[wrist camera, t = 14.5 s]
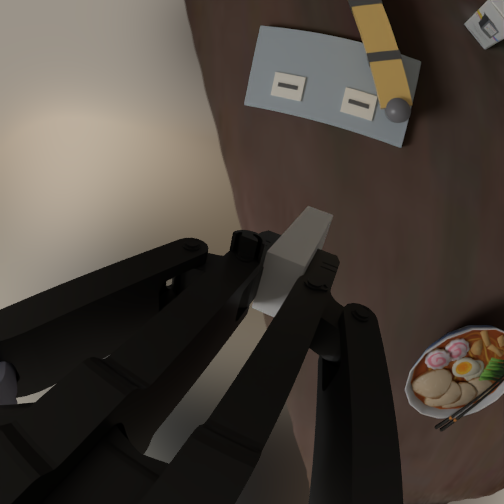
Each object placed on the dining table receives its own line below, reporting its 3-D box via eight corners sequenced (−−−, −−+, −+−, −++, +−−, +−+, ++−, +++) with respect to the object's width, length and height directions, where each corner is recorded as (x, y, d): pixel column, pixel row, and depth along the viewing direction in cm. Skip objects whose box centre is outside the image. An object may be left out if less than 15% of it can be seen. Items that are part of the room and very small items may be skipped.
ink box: (493, 4, 19) (520, -23, 9) (515, 31, 20) (548, 11, 10) (461, 24, 24) (485, -3, 14) (484, 52, 24) (516, 33, 14)
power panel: (419, 63, 30) (421, 60, 28) (399, 147, 36) (401, 148, 34) (264, 28, 35) (259, 25, 34) (248, 105, 42) (243, 104, 40)
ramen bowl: (468, 272, 38) (481, 300, 31) (533, 332, 35) (545, 360, 28) (377, 366, 51) (374, 398, 45) (449, 406, 48) (450, 435, 42)
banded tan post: (412, 121, 32) (417, 121, 28) (382, 124, 34) (384, 124, 30) (368, -21, 25) (366, -35, 21) (339, -17, 27) (335, -31, 23)
